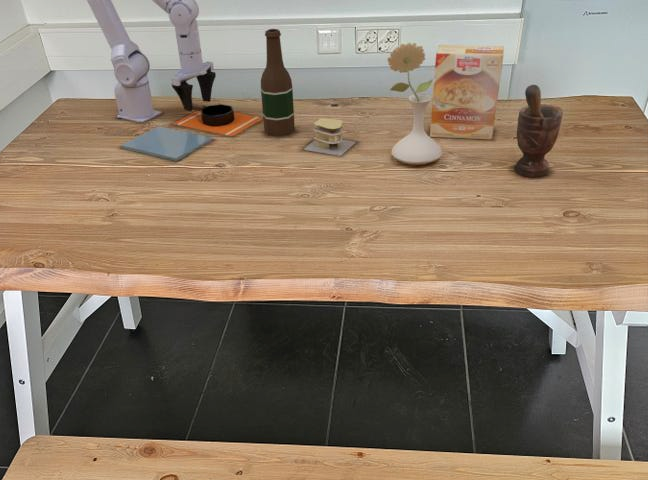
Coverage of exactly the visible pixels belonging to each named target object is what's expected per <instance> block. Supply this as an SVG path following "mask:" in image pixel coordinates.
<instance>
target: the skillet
mask: <svg viewBox="0 0 648 480" xmlns="http://www.w3.org/2000/svg"><path fill="white" fill-rule="evenodd" d="M192 111H201V118H202V123H203V124H204V125H207V126H224V125H228V124H230V123H232V122H233V121H234V119H235V118H234V112H235V110H234V108H233V106H232V105H229V104H224V103H218V104H211V105H210V104H209V105H203V104H199V103H193V102H192Z"/></svg>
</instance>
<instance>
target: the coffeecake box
mask: <svg viewBox="0 0 648 480" xmlns="http://www.w3.org/2000/svg"><path fill="white" fill-rule="evenodd" d="M504 52H505V46H504V45H500V46H499V45H498V46H497V45H460V44H458V45H457V44H438V46H437V49H436V52H435V64H434V74H433V75H434V76H433V88H432V99H431V101H432V102H431V112H430V114H431V115H430V128H429V137H431V138H448V139H449V138H450V139H467V140H468V139H470V140H471V139H472V140H491V141H492V140H493V134H494V128H495V121H496V114H497V105H498V98H499V91H500V84H501V77H502V69H503V63H504V62H503V61H504Z"/></svg>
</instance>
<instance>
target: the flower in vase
mask: <svg viewBox="0 0 648 480" xmlns="http://www.w3.org/2000/svg"><path fill="white" fill-rule="evenodd" d="M425 60H426V53H425V52H424V49H423V45H417V43H416V42H413V43H411V42H407V43H406V44H405V43H401V44H400V45H399V46H396V47H395V48H394V49H393V50H392V51H391V52H390V54H389V57H387V62H388V66H389V68H390V70H392V71H394V72H399V73H400V74H401V73H406V74H407V82H408V83H405V82H402V81H401V82H398V83H395V84H394V85H392V86H391V88H389V91H391V92H399V93H404V92H406V91H407V90H408V88H410V90H411V91H412V92H413V94H412V95H409V96H408V98H407V99H408V101H409V102H410V105H411V107H412V114H413V115H412V116H413V122H412V123H413V124H412V129H411V131H410V132H409V133H408V134H407V135H406V136H404V137H403V138H401V139H400V140H399V141H397V142H396V143H395V144H394V145H393V147H392V149H391V155H392V157H393V159H395V160H396V161H398V162H400V163H404V164H408V165H426V164H431V163H433V162H436V161H437V160H439V159H440V157H441V156H442V155H443V150H442V147H441V146H440V145H439V143H438V142H437V141H436V140H434V139H433V137H430V135H429V134H427V133H426V131H425V128H424V121H425V114H426V110H427V107H428V105H429V104H430V102H431V101H432V100H433V97H432V96H431V95H428V94H425V93H424V94H422V93H423V92H425V91H427V90H428V89H429V88H430V86H432V83H433V81H434V78H432V79H430V80H428V81H425V82H423V83H420V84H418V86H417V87H416V90H414V87H413V86H412V84H411V81H410V72H412V71H414V70H416V69H419V68H420V67H421V65H422V64H423V62H424V61H425Z"/></svg>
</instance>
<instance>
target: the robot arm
mask: <svg viewBox="0 0 648 480" xmlns="http://www.w3.org/2000/svg"><path fill="white" fill-rule="evenodd" d="M86 1H87V3H88V5H89V7H90V10H91V11H92V13H93V15H94V17H95V19H96V22H97V24H98V25H99V27H100V30H101V31H102V33H103V35H104V38H105V39H106V41H107V43H108V45H109V48H110V49H111V53H110V62H111V64H112V67H113V73H114V77H115V80H117V83H116V84H115V86H114V98H115V102H116V106H117V107H116V108H117V111H118V112H117V113H118V114H117V115H116V117H117V119H118V118H119V119H123V120H128V121H133V122H137V123H145V122H146V121H149V120H151V119H153V118H155V117H157V116H159V115H161V114H162V111H161V110H155V108H154V103H153V98H152V92H151V91H152V90H151V86H150V80H149V77H148V73H149V72H150V70H151V69H150V68H151V67H150V66H151V64H150V61H149V58H148V57H147V55H145V54H144V53H143V51H142V50H141V49H140V47H139V45H138V44H137V43H135V42H133V41H132V40H131V38H130V36H129V34H128V32H127V30H126V28H125V26H124V24H123V22H122V20H121V18H120V16H119V13H118V12H117V9H116V7H115V6H114V3H113V0H86ZM151 1H152V2H153V3H154V4H155V5H157V6H158V7H159V8H160V9H161V10H163V11H164V13H166V14H168V19H169V21H170V23H171V24H172V25H173V26H174V30H175V31H174V32H175V37H176V38H175V39H176V44H177V45H176V46H177V50H178V56H179V57H178V59H179V64H180V70H179V71H178V72H177V73H176V74H174V75H173V76H171V77H170V79H171V87H172V89H173V90H174V92H175V93H176V94H177V96H178V97H179V100H180V102H181V104H182V106H183V110H184V111H188V112H192V111H193V110H192V103H193V88H194V85H193V84H190V83H188V82H187V81H190V80H192V79H193V78H196V79H197V82H198V85H199V90H200V95H201V98H202V101H203V102H207V103H210V102H211V100H212V89H213V86H214V81H215V80H216V77H217V75H216V72H215V70H214V69H215V67H214V62H213V61H205V62H203V54H202V53H203V52H202V47H201V39H200V32H199V25H198V20H197V18H198V17H199V14H200V9H199V5H198V3H197V2H196V0H151Z"/></svg>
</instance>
